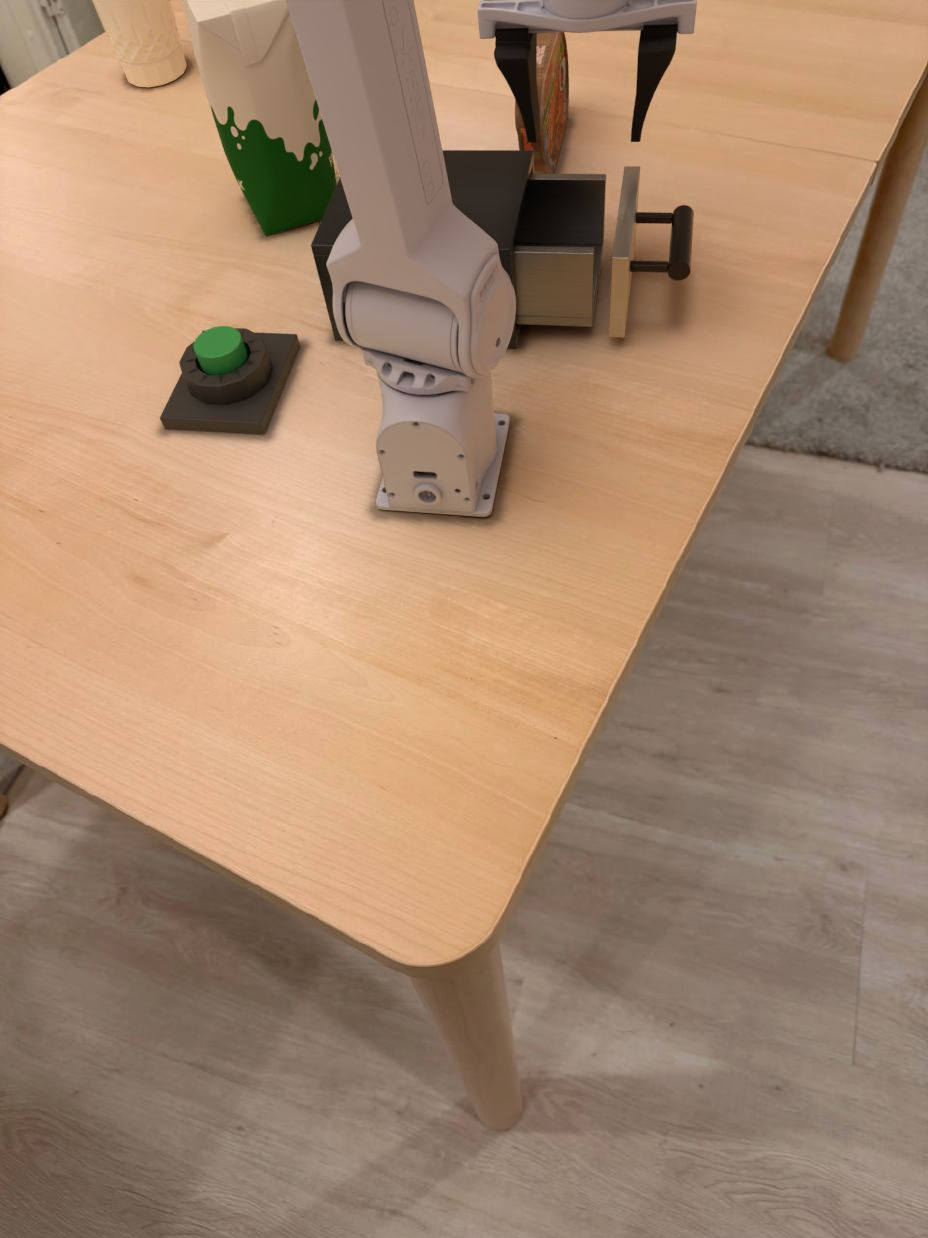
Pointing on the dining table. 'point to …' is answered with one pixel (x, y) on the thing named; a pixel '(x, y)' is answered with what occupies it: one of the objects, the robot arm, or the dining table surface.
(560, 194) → the drawer
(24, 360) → the dining table surface
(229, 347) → the button
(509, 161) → the cabinet
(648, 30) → the robot arm
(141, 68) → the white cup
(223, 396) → the button box
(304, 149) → the milk carton
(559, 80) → the tin
